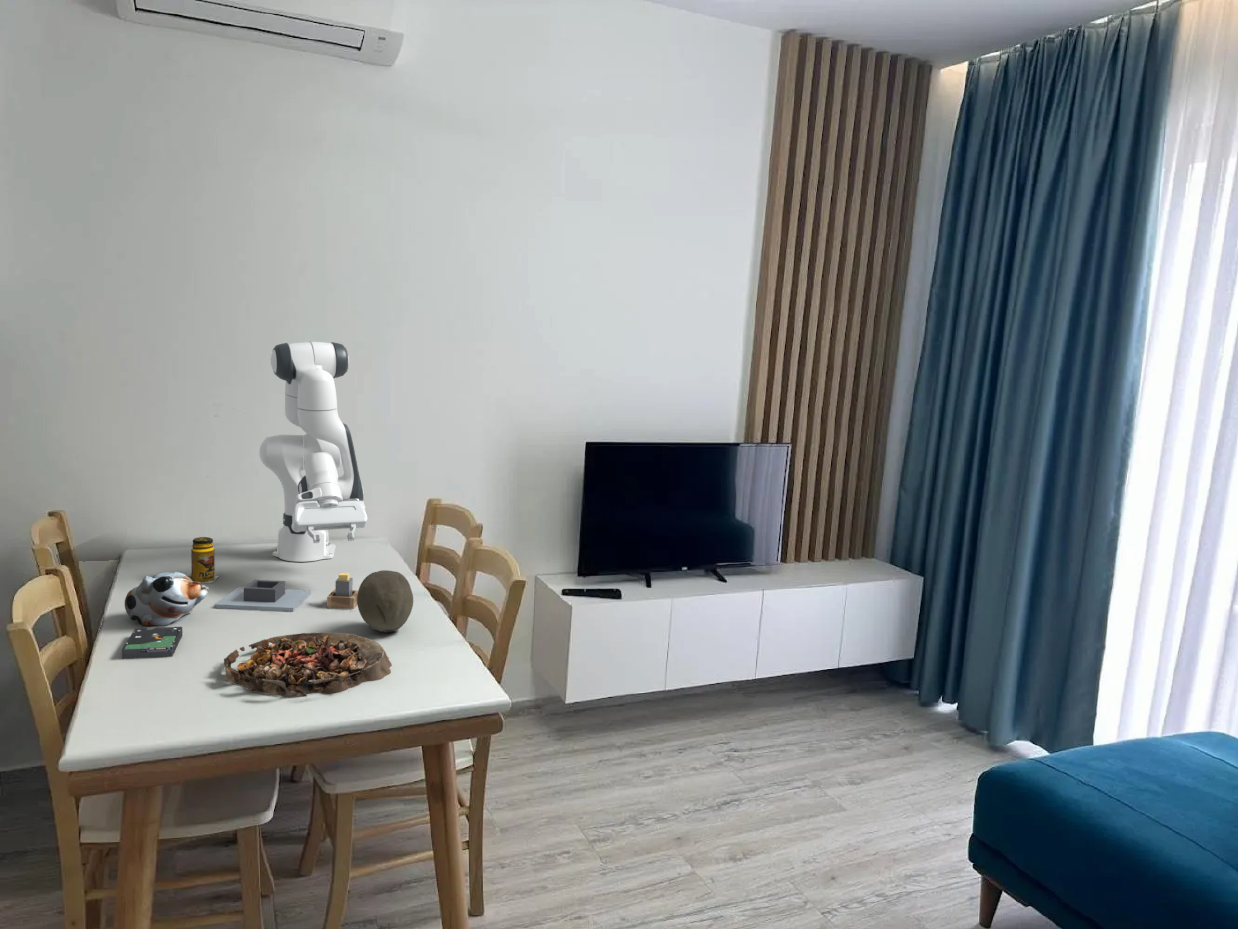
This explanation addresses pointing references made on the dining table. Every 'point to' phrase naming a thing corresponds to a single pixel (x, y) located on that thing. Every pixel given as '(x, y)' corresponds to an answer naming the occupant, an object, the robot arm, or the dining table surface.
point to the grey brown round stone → (385, 600)
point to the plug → (344, 585)
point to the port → (264, 597)
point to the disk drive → (152, 642)
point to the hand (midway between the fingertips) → (334, 540)
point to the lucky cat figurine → (163, 598)
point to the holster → (342, 600)
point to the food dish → (309, 664)
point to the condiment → (202, 560)
